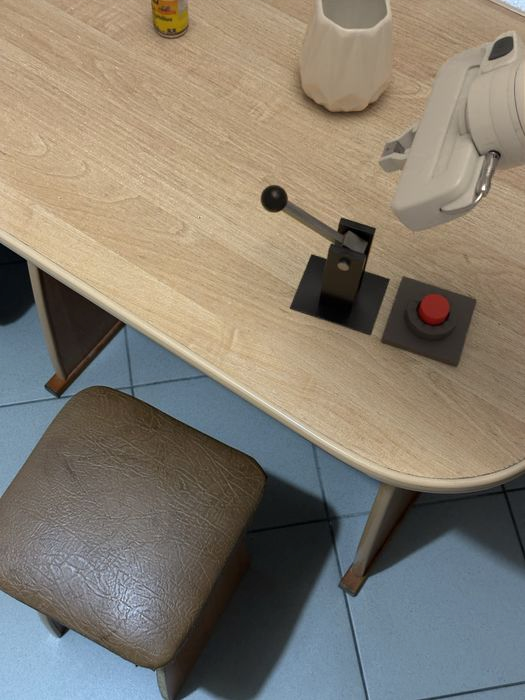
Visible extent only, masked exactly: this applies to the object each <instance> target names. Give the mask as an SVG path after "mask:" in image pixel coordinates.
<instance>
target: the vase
mask: <svg viewBox="0 0 525 700" xmlns="http://www.w3.org/2000/svg"><path fill="white" fill-rule="evenodd" d="M391 8H392V7H391V1H390V0H315V1H314V3H313V6H312V10H311V12H310V16H309V20H308V23H307V27H306V29H305V33H304V36H303V40H302V44H301V49H300V52H299V55H298V66H299V73H300V82H301V88H302V90H303V92H304V94H305V95H306V96H307V97H308V98H310V99H312V101H314V102H315V103H316V104H317V105H320V106H322V107H324V108H325V109H326V110H328V111H329V112H331V113H332V112H347V113H348V112H361V111H363V110H364V109H366V108H367V107H368V106H369V104H372V103H375V102H377V101H378V99H379V98H380V96H381V94H382V93H383V92H385V91H386V90H387V89H388V88H389V87H390V84H391V80H392V72H393V64H394V58H395V51H394V50H395V49H394V19H393V12H392V9H391Z"/></svg>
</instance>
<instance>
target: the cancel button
mask: <svg viewBox="0 0 525 700" xmlns="http://www.w3.org/2000/svg"><path fill="white" fill-rule="evenodd" d="M449 309H450V307H449V303H448V301H447V300H446V299H445V298H444V297H443V296H441V295H438V294H430V295H427V296H426V297H424V298H423V300H422V302H421V304H420V307H419V310H418V313H419V316H420V318H421V319H422V321H424V322H425V323H427V324H429V325H438V324H441V323H442V322H444V320H445V319H446V317H447V315H448V313H449Z"/></svg>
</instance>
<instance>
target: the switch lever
mask: <svg viewBox="0 0 525 700" xmlns="http://www.w3.org/2000/svg"><path fill="white" fill-rule="evenodd" d="M259 200H260V205H261V206H262V208H263V209H264V210H265V211H267V213H272V214H276V213H280V212H283V213H284V214H286V215H288V216H289V217H290V218H292V219H294V220H295V221H297V222H298V223H300V224H302V225H304V226H305V227H307V228H308V229H310V230H311V231H313V232H314V233H316V234H317V235H319V236H321V237H322V238H324V239H325V240H327V241H329V242H330V243H332V244H335V245H338V246H341V247H344V248H348V249H351V250H354V251H357V252H360V253H363V254H364V251H365V249H366V246H367V243H368V242H366V241H365V240H363V239H362V238H360V237H359V236H357V235H355V234H354V233H352V232H351V231H348V232H346V233H345V234H344V235H342V234H340V233H339V232H337V230H336V229H334V228H332V227H330V226H329V225H327V224H326V223H325V222H323V221H321V220H320V219H318V218H317V217H316V216H313V215H311V214H310V213H308V212H307V211H306V210H304V209H302V208H301V207H300V206H298V205H296V204H295V203H293V202H292V201H290V200H289V196H288V193H287V191H286V189H285V188H283V187H282V186H280V185H277V184H270V185H268V186H266V187H265V188H264V189H263V190H262V191H261V194H260V199H259Z"/></svg>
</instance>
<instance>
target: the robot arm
mask: <svg viewBox="0 0 525 700" xmlns="http://www.w3.org/2000/svg"><path fill="white" fill-rule="evenodd" d="M378 165H379V166H380V167H381V169H382V170H383V171H384V172H385V173H387V174H389V173H393V172H397V171H401V174H400V177H399V180H398V183H397V186H396V188H395V191H394V194H393V196H392V199H391V202H390V210H391V211H392V213H393V214H394V216H396V218H397V219H398V220H399V222H400V223H401V224H402V225H403V226H404V227H405V228H406V229H408V230H409V231H411V232H414V233H419V232H423V231H426V230H429V229H433V228H436V227H438V226H441V225H444V224H447V223H450V222H452V221H455V220H458V219H460V218H462V217H464V216H466V215H468V214H469V213H470V212H472V211H473V210H474V209H475V208H476V207H477V206H478V204H480V202H481V200H482V199H483V198H485V197H488V195H489V193H490V191H491V188H492V180H493V178H494V175H495V173H496V171H501V172H504V171H508V170H512V169H515V168H518V167H522V166H525V42H524V40H523V39H522V38H521V36H520V34H518V32H517V31H516V30H515V29H511V30H507V31H505V32H503V33H500V34H499V35H497V36H496V37H495V38H494V40H493V41H486V42H483V43H479V44H477V45H474V46H472V47H470V48H467V49H465V50H463V51H459V52H458V53H456V54H454V55H452V56H450V57H448V59H446V61H444V62H443V63H442V64H441V65H440V66H439V68H438V70H437V72H436V76H435V78H434V82H433V83H432V87H431V90H430V92H429V95H428V98H427V101H426V104H425V106H424V110H423V112H422V115H421V117H420V120H418V121H415V122H414V123H412V124H411V125H410V126H409V127H408V128H406V129H405V130H404V131H402V132H401V133H400V134H399V135H398V136H395V137H392V138H390V139H387V140H386V142H385V145H384V147H383V150H382V152H381V155H380V158H379V160H378Z"/></svg>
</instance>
